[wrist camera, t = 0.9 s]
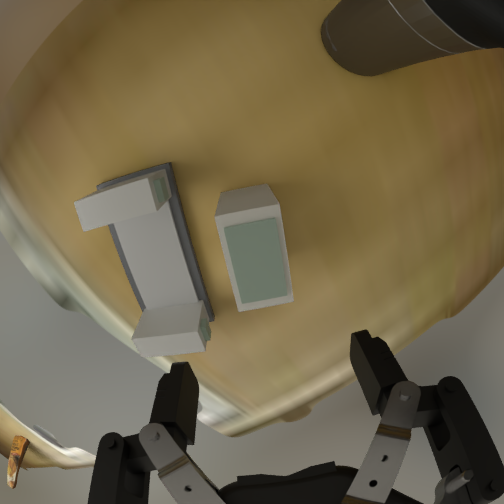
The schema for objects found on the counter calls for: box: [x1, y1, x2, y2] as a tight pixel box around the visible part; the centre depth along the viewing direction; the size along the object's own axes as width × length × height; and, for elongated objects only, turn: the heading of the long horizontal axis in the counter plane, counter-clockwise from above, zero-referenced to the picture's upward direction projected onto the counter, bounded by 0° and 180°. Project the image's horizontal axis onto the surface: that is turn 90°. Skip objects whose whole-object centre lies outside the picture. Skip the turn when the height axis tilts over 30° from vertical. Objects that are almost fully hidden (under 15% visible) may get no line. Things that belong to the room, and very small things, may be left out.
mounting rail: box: [74, 162, 215, 357], centre depth 28 cm, size 9×20×7 cm, turn 11°
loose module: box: [215, 184, 294, 312], centre depth 27 cm, size 5×9×9 cm, turn 11°
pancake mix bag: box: [7, 436, 30, 489], centre depth 50 cm, size 7×19×28 cm, turn 119°
